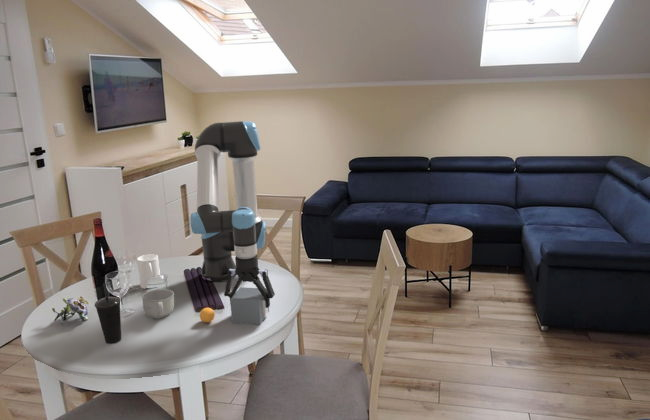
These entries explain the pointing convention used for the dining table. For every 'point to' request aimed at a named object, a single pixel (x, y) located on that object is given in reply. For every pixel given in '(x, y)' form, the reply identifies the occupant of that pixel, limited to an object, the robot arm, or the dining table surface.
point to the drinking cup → (109, 317)
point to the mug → (147, 268)
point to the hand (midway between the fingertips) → (250, 314)
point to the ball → (207, 315)
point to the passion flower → (73, 309)
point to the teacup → (158, 302)
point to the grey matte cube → (247, 306)
